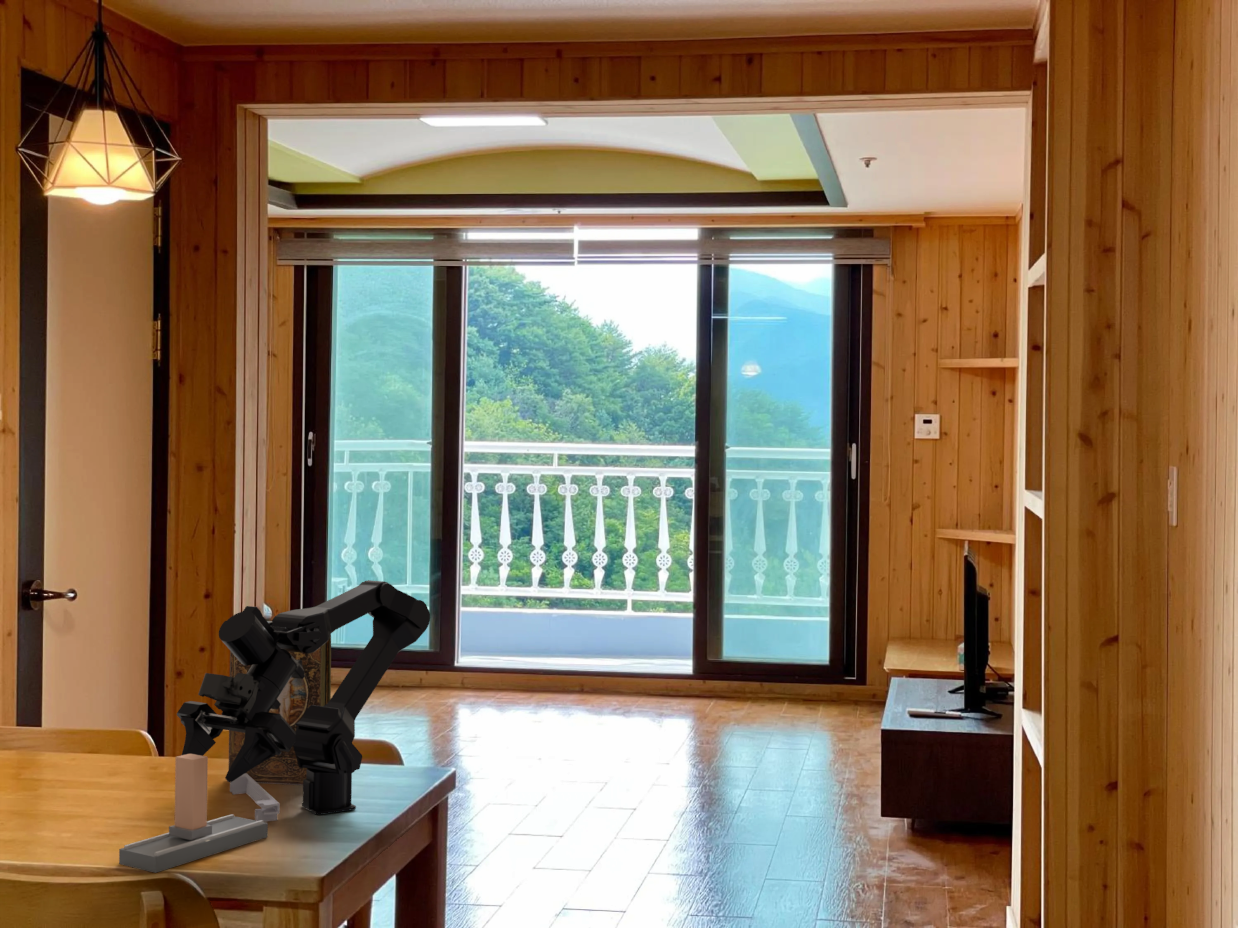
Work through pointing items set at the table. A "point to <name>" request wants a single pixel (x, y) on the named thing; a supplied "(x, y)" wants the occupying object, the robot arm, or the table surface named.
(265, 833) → the grey slider rail base
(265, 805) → the door handle
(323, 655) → the book
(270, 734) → the robot arm
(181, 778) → the fader
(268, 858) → the table surface
